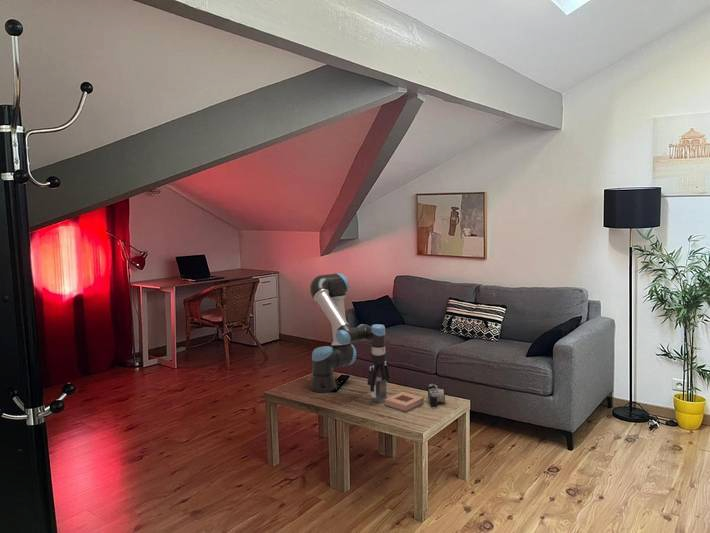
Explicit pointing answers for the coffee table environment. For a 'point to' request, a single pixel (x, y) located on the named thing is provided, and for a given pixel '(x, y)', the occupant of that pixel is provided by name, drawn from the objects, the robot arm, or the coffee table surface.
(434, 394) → the camera
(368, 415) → the coffee table surface
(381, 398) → the grey wood-topped pillar
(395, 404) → the pink square frame
